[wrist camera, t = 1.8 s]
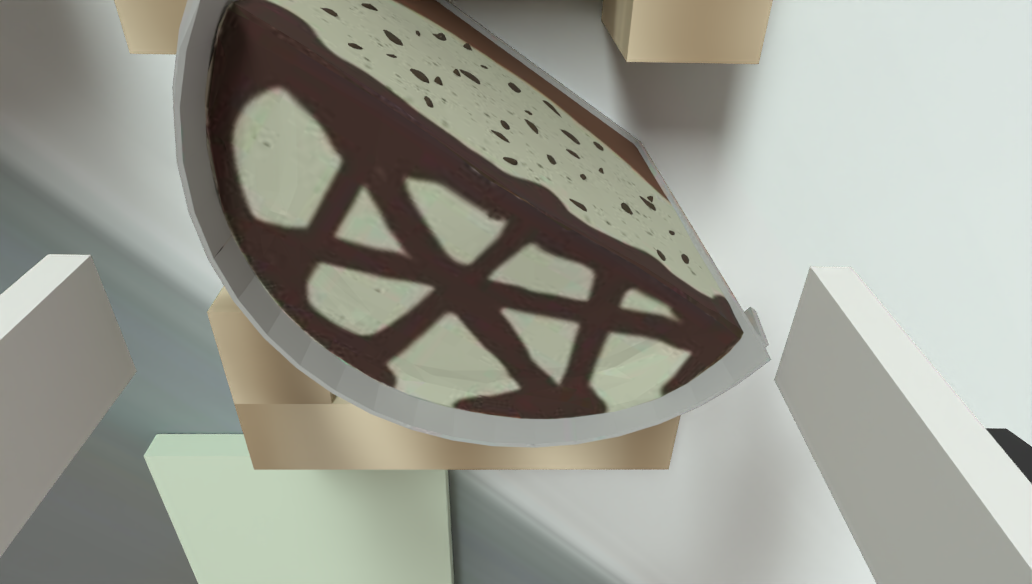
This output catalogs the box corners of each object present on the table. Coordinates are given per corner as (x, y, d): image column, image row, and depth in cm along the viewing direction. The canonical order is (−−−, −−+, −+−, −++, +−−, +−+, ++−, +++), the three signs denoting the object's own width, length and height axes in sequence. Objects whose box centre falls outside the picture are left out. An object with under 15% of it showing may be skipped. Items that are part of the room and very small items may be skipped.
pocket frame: (289, 380, 26) (254, 469, 22) (135, -300, 14) (8, -354, 11) (644, 381, 26) (668, 469, 22) (758, -281, 15) (845, -326, 11)
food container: (233, 104, 20) (36, 288, 11) (325, -89, 17) (155, -34, 9) (559, 296, 24) (590, 535, 15) (675, 167, 21) (790, 372, 13)
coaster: (231, 619, 35) (223, 642, 34) (157, 434, 27) (143, 456, 26) (456, 618, 35) (454, 640, 34) (446, 434, 27) (444, 456, 26)
